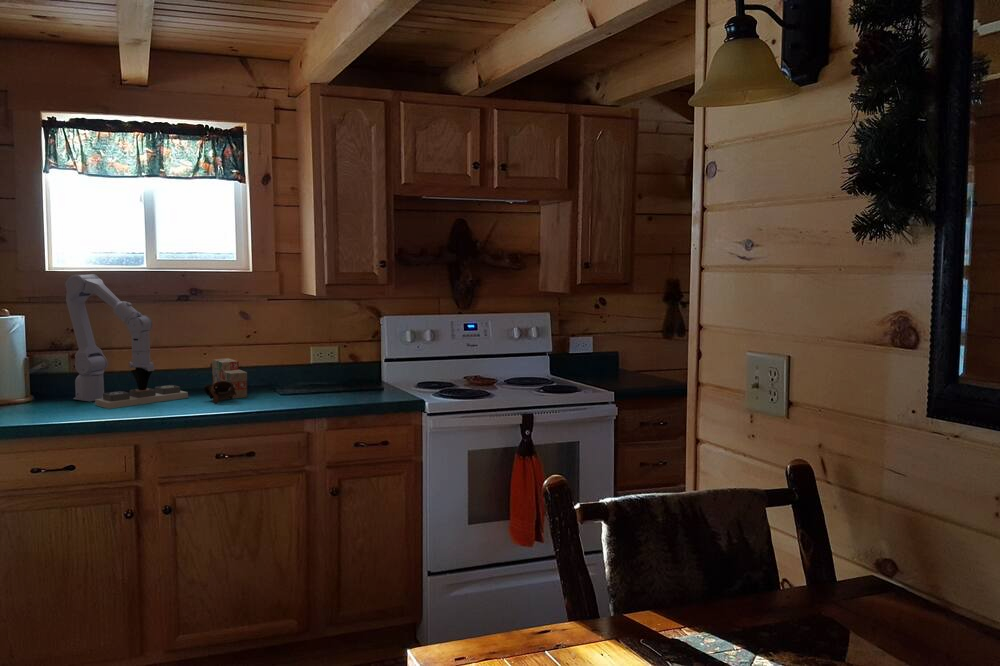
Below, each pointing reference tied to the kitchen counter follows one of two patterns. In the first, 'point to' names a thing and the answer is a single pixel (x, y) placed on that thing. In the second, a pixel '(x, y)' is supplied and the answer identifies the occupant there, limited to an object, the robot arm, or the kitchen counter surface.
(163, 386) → the one pip button
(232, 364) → the stack of blocks
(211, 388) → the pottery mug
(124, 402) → the button panel
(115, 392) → the two pip button
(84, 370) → the robot arm
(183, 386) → the kitchen counter surface
